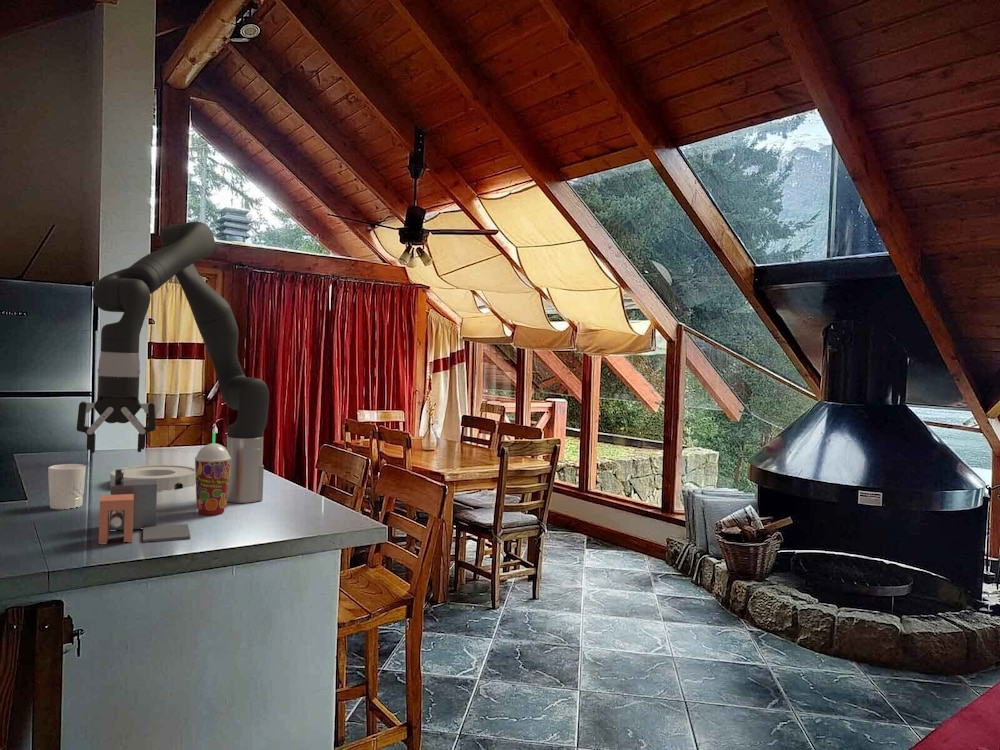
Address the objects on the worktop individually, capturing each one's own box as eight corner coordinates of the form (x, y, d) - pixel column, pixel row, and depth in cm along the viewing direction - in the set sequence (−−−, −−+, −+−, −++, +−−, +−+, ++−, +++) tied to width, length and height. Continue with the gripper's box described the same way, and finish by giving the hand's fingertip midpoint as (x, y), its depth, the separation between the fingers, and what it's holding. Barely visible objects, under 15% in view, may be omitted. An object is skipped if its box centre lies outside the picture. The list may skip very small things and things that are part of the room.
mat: (187, 526, 156) (187, 523, 156) (190, 538, 147) (190, 536, 147) (143, 529, 152) (143, 526, 152) (142, 542, 143) (142, 539, 143)
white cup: (91, 506, 172) (93, 466, 171) (60, 511, 165) (61, 470, 164) (71, 501, 175) (72, 462, 175) (39, 507, 168) (40, 466, 168)
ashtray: (98, 492, 188) (98, 478, 188) (123, 477, 211) (124, 464, 210) (189, 492, 194) (189, 478, 193) (204, 477, 216) (205, 465, 216)
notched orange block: (132, 535, 147) (133, 493, 147) (132, 542, 142) (133, 499, 142) (100, 537, 145) (101, 495, 144) (98, 545, 139) (99, 501, 139)
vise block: (110, 525, 155) (112, 467, 154) (155, 522, 159) (157, 466, 158) (106, 545, 139) (108, 482, 139) (156, 542, 143) (158, 480, 143)
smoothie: (194, 517, 165) (196, 434, 164) (191, 510, 172) (194, 430, 172) (231, 515, 169) (234, 434, 168) (227, 508, 176) (230, 430, 175)
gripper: (157, 374, 149) (154, 449, 150) (81, 372, 143) (78, 450, 143) (157, 376, 142) (154, 454, 143) (77, 373, 136) (74, 455, 136)
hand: (116, 452), depth 143 cm, fingers open, 8 cm apart
